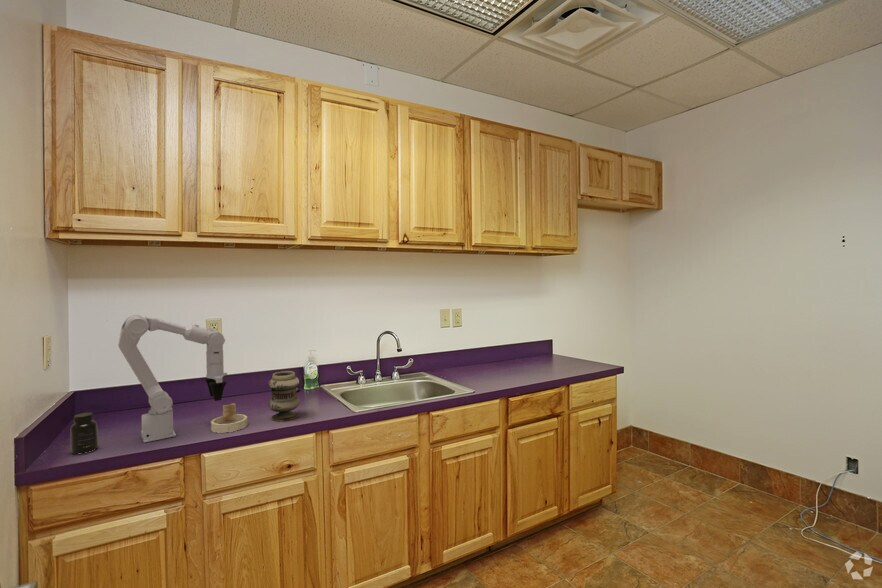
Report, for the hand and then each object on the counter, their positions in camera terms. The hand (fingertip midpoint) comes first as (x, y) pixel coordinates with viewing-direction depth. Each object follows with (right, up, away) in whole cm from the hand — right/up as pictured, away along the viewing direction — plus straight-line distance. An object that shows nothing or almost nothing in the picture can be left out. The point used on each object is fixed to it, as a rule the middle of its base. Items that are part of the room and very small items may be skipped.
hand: (215, 398), depth 163 cm
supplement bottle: (-30, -12, -24) cm, 40 cm away
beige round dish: (+6, -10, -2) cm, 12 cm away
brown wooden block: (+6, -10, -2) cm, 12 cm away
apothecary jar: (+23, -10, +9) cm, 27 cm away
